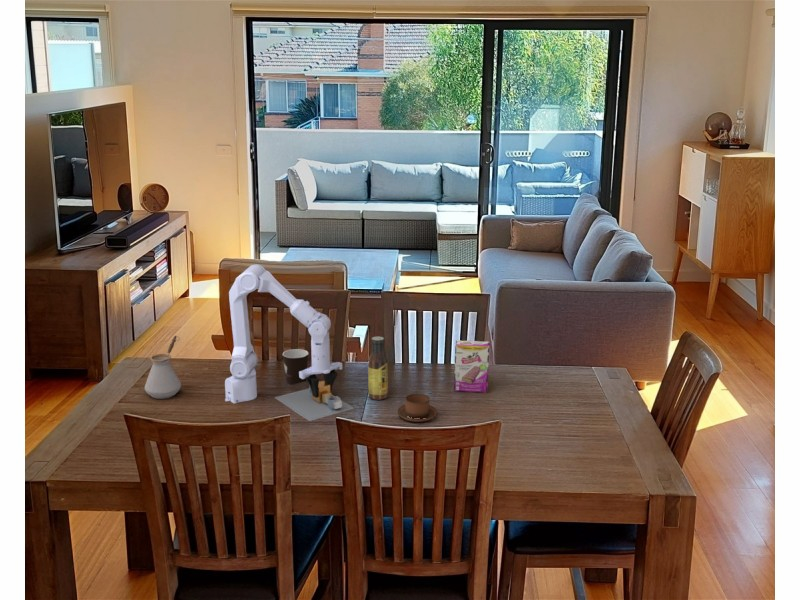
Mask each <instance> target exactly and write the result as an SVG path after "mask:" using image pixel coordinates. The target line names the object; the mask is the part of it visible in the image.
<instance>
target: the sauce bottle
mask: <svg viewBox="0 0 800 600" xmlns="http://www.w3.org/2000/svg"><path fill="white" fill-rule="evenodd" d="M388 363H389V361H388V359H387V356H386V353H385V338H384V337H382V336H379V335H378V336H373V337H371V353H370V354H369V356H368V366H367V370H368V371H367V373H368V374H367V375H368V376H367V378H368V381H367V382H368V385H367V387H368V397H369V398H370V399H371V400H374V401H375V400H377V401H379V400H384V399H386V398H387V397H388V392H389V387H388V386H389V385H388V384H389V381H388V379H389V376H388V375H389V370H388V369H389V366H388V365H389V364H388Z"/></svg>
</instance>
